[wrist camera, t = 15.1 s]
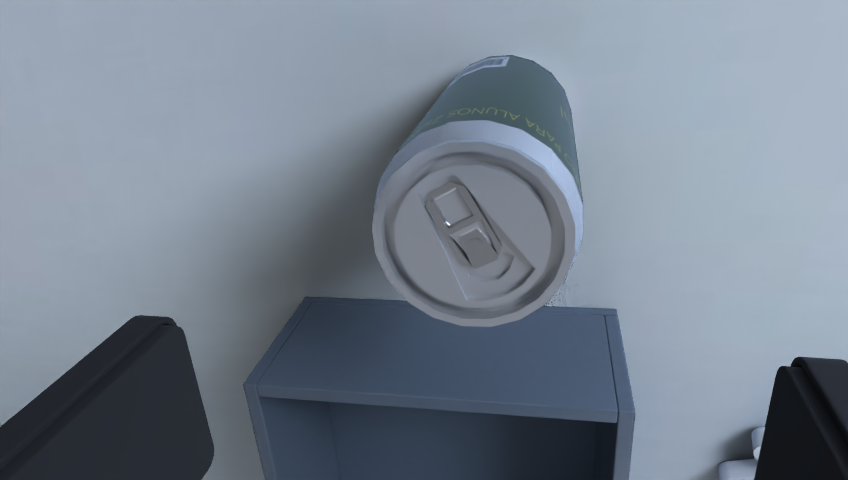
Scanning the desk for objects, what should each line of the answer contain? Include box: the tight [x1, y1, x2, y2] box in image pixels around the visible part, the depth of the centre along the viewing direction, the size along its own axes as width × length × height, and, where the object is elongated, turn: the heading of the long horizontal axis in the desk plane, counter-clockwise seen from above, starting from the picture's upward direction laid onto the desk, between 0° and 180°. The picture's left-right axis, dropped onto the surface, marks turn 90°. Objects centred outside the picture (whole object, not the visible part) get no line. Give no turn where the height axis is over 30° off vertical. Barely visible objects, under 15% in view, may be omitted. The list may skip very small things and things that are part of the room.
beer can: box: [372, 55, 583, 327], centre depth 20 cm, size 5×5×12 cm
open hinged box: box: [243, 297, 635, 480], centre depth 30 cm, size 15×15×7 cm
